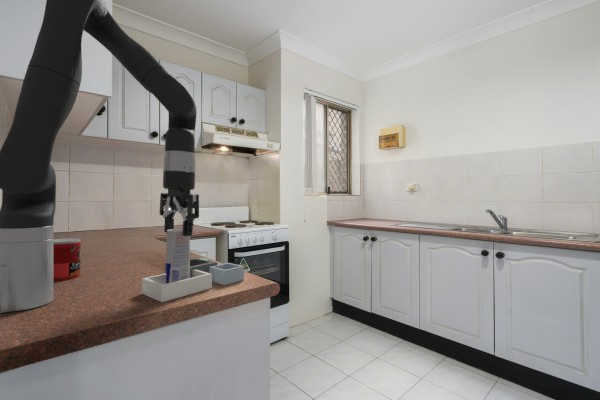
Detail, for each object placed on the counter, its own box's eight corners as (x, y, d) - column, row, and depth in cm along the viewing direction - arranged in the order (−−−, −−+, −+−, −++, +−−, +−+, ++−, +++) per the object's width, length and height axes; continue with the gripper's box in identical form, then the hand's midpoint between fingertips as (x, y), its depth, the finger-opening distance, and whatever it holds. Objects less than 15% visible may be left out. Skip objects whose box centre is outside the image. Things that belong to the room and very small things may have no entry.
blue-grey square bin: (224, 285, 82) (224, 270, 82) (209, 280, 86) (209, 266, 86) (244, 279, 87) (244, 266, 87) (228, 275, 92) (228, 262, 92)
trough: (162, 302, 68) (162, 285, 68) (141, 293, 74) (142, 278, 74) (211, 288, 79) (212, 273, 79) (190, 281, 85) (190, 268, 85)
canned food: (76, 279, 86) (76, 241, 86) (41, 282, 83) (41, 242, 83) (84, 273, 93) (84, 237, 93) (52, 275, 90) (52, 238, 90)
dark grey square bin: (185, 285, 81) (185, 267, 81) (164, 278, 88) (164, 262, 88) (217, 277, 90) (217, 261, 90) (196, 271, 96) (196, 256, 96)
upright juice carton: (193, 284, 79) (194, 228, 79) (183, 291, 74) (183, 230, 73) (173, 283, 80) (174, 227, 80) (161, 290, 74) (161, 230, 74)
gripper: (150, 170, 78) (149, 232, 78) (181, 168, 69) (179, 238, 69) (177, 172, 84) (176, 230, 84) (209, 171, 75) (207, 235, 75)
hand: (177, 234), depth 76 cm, fingers open, 8 cm apart
